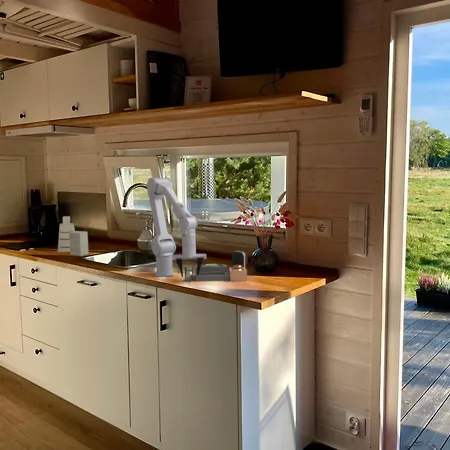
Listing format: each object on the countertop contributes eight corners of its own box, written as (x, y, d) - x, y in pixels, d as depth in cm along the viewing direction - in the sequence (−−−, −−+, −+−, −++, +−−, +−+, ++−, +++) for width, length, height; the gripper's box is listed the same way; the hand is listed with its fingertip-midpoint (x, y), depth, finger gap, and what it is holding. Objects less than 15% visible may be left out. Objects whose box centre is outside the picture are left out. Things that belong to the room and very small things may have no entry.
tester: (195, 276, 221) (195, 263, 220) (226, 275, 222) (226, 263, 221) (196, 282, 208) (195, 269, 207) (229, 282, 209) (228, 269, 208)
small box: (88, 254, 278) (87, 231, 276) (80, 256, 272) (79, 232, 271) (77, 253, 281) (76, 230, 280) (69, 255, 276) (68, 232, 274)
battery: (249, 276, 219) (249, 251, 218) (243, 278, 216) (243, 252, 215) (237, 274, 224) (237, 249, 222) (231, 275, 221) (231, 250, 220)
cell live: (184, 279, 214) (184, 266, 213) (193, 279, 214) (192, 266, 213) (184, 281, 210) (184, 267, 210) (193, 281, 211) (193, 267, 210)
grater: (57, 252, 285) (56, 217, 283) (59, 249, 296) (57, 216, 293) (76, 251, 288) (75, 217, 286) (77, 248, 298) (76, 215, 296)
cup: (228, 278, 215) (228, 267, 214) (244, 278, 216) (244, 267, 215) (230, 282, 208) (230, 271, 208) (246, 282, 209) (246, 270, 208)
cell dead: (233, 278, 213) (233, 264, 213) (241, 278, 214) (241, 264, 213) (233, 280, 210) (233, 266, 209) (242, 280, 210) (242, 266, 209)
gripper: (171, 246, 206) (172, 278, 207) (206, 245, 207) (207, 277, 209) (172, 244, 213) (173, 275, 214) (205, 243, 214) (206, 273, 216)
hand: (189, 275), depth 212 cm, fingers open, 6 cm apart
